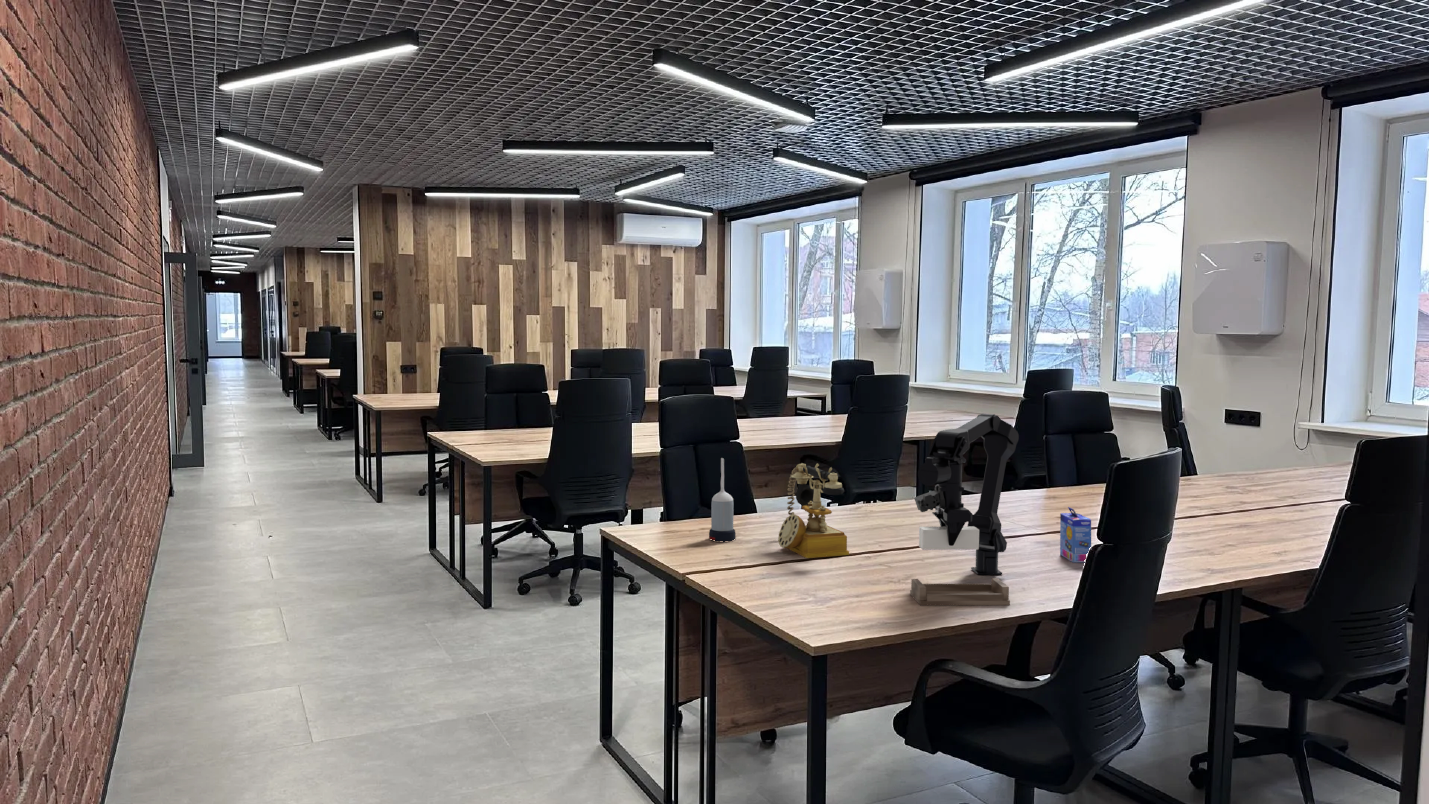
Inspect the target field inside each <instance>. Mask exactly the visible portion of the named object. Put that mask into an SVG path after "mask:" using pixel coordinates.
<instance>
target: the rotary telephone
mask: <svg viewBox="0 0 1429 804" xmlns="http://www.w3.org/2000/svg"><path fill="white" fill-rule="evenodd" d="M795 466H796V467H794V468H793V470H791V474H789V475H790V477H789V480H788V485H787V487H788V488H787V491H788V492H787V495H788V497H787V500H790V501H787V503H786V505H788V506H787V508H786V510H788V512H787V514H788V515H789V516H787V517H786V518H785V519H784V520H783V522H782V524H781V526H780V529H779V531H778V539H777V541H778V544H779V545H778V546H780V547H781V548H783V549H787V550H790V551H791V552H794V553H795V554H797V555H799V556H802V557H803V558H806V559H813V558H814V559H816V558H826V557H827V558H829V557H840V556H850V551H849V550H848V536H847V535H846V534H845V532H843V531H841V530H838V529H836V528H834V527H831V526H829V525H828V524H827V522H826V515H831V514H832V513H833V511H832V510H831V509H829V508H827V507H825V505H823V504H822V498H821V494H824V495H829V496H838V495H843V494H844V493H845V489H844V487H843V484H842V483H843V482H839V481H838V479H839V476H838V473H835V472H832V470H833V468H832V467H829V469H828V471H826V470H823V469H821V468H818V467H819V466H820V464H819V463H816V464H815V466H814V467H813V466H811V465H807V464H806V463H803V462H801V463H797V464H796V465H795ZM814 477H816V478H819V479H814V480H813V479H812V478H814ZM808 481H809V484H807V483H808ZM821 481H822V482H821ZM826 481H827V482H826ZM796 482H797V487H798V489H796V493H795V486H796ZM790 495H791V496H790ZM795 500H796V502H797V503H798V504H799V505H801V506H802V507H801V509H802V510H803V511H805V512H807V513H808V514H807V516H808V517H807V519H806V520H807V523H806V524H805V522H804V520H803V519H802V517H800V516H799V515H797V514H795V512H794V511H793V510H794V509H795V508H794V507H793V506H794V504H796V503H795V502H794V501H795ZM792 511H793V512H792Z"/></svg>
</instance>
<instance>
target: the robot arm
mask: <svg viewBox="0 0 1429 804" xmlns="http://www.w3.org/2000/svg"><path fill="white" fill-rule="evenodd" d="M1019 437H1020V435H1019V432H1018V431H1017V430H1016V428H1015V427H1014V426H1013V425H1012V424H1010V423H1009V422H1007V421H1005V420H1003V419H1001V417H999V415H998V414H995V413H994V414H993V413H979V414H978V415H977V416H976V417H975V418H973V419H972V420H970V421H967V422H966V423H964V424H962V425H960V426H959V427H956V428H948V429H943V430H939V431H938V432H937V433H936V435H935V437H934V438H933V441H932V444H931V446H930V449H929V451H928V454H927V457H925V459H924V461H925V462H923V463H921V464H920V466H919V468H918V470H917V477H918V480H919V482H920V483H922V485H924V486H927V487H933V486H934V490H932V491H929V492H926V493H923V494H920V495H917V496H916V497H914V501H915V505H916V507H917V510H918V511H920V512H921V513H925V512H927V511H928V510H929V511H932V512H931V514H932V515H933V516H935V518H936V519H937V520H938V522H939V527H946V529H947V536H948V543H949V545H950V546H953V545H954V543H955V541H956V539H957V537H958V535H959V533H960V532H961V530H962V528H963V526H965V525H966V523H967V526H974V527H976V528H977V529H979V550H975V566H972V567H970V569H971V570H972V571H973V572H974V573H975V574H976V575H980V576H985V575H994V576H995V575H997V576H998V575H1003V572H1002V571H1001V570H1000V569H999V553H1005V551H1006V549H1007V545H1008V541H1007V540H1006V538H1005V536H1004V534H1003V532H1002V523H1001V520H1000V518H999V516H998V511H999V504H1000V500H1001V494H1002V488H1003V483H1004V477H1005V473H1006V472H1005V471H1006V466H1007V462H1008V460H1009V458H1011V456H1012V455H1013V454H1014V453H1015V451H1016V449H1017V448H1016V447H1017V444H1018V443H1019V439H1020V438H1019ZM979 438H981V439H983V448H984V450H985V453H986V455H987V459H986V465H985V471H984V477H983V481H982V487H981V492H980V498H979V504H978V509H977V510H976V511H975V513H974V514H973V513H972V512H971V511H970V510H969V509H968V508H966V507H964V506H965V504H964V503H963V502H962V492H964V491H965V487H964V486H963V482H962V481H963V463H966V462H967V459H966V458H965V457H964V456H963V455H964V454H965V453H966V452H967V451H969V449H970V444H971V443H973V442H974V441H976V440H977V439H979ZM934 509H935V511H933V510H934Z"/></svg>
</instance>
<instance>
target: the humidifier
mask: <svg viewBox="0 0 1429 804" xmlns="http://www.w3.org/2000/svg"><path fill="white" fill-rule="evenodd" d="M720 473H721V477H720V490H719V492H717V493H716V494H714V495H713V497H712V498H711V511H710V512H711V513H710V514H711V516H710V517H711V523H710V525H711V527H710V529H709V532H708V540H709V539H712V540H715V541H723V542H722V543H726V542H725V541H732V540H734V539H735V540H736V539H737V536H736V534H737V533H736V529H734V498H733V496H732V495H731V494H729V493H728V492H726V491H725V462H724V458H723V457H721V458H720ZM732 542H733V541H732Z"/></svg>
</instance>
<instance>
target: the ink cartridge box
mask: <svg viewBox="0 0 1429 804" xmlns="http://www.w3.org/2000/svg"><path fill="white" fill-rule="evenodd" d="M1067 509H1068V510H1069V513H1068V512H1065V513H1064V512H1061V513H1060V515H1059V516H1060V518H1059V519H1060V520H1059V522H1060V528H1059V529H1060V530H1059V533H1060V534H1059V536H1060V537H1059V538H1060V539H1059V545H1060V546H1059V553H1060V554H1059V555H1060V556H1062V557H1063V558H1065V559H1067V560H1068V561H1070V562H1071V563H1075V564H1076V563H1085V562H1084V560H1085V559H1086V554H1087V553H1088V551H1089V548H1090V547H1091V548H1092V519H1091V518H1089V517H1086V516H1085V515H1083V514H1081V513H1078V512H1076V511H1075V509H1074V508H1071V507H1069V506H1068V507H1067Z"/></svg>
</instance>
